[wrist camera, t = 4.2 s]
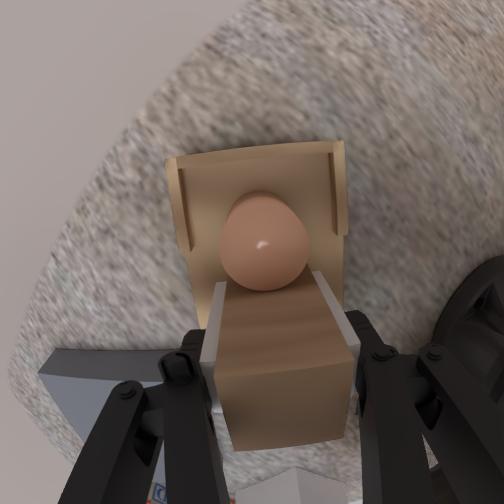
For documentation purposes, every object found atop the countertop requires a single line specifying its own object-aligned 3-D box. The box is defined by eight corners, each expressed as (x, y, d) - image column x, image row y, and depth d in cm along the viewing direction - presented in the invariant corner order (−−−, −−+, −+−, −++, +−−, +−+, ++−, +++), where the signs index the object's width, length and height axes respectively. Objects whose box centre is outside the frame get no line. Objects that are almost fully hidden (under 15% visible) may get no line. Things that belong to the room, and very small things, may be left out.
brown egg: (294, 191, 16) (312, 206, 11) (291, 255, 17) (305, 290, 12) (226, 190, 16) (218, 204, 11) (226, 255, 17) (220, 290, 12)
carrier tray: (182, 157, 18) (72, 172, 6) (322, 142, 18) (444, 135, 6) (219, 361, 23) (204, 504, 11) (328, 349, 23) (375, 484, 11)
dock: (185, 349, 23) (177, 381, 20) (223, 459, 29) (221, 485, 25) (55, 348, 24) (37, 372, 20) (119, 453, 29) (112, 475, 26)
